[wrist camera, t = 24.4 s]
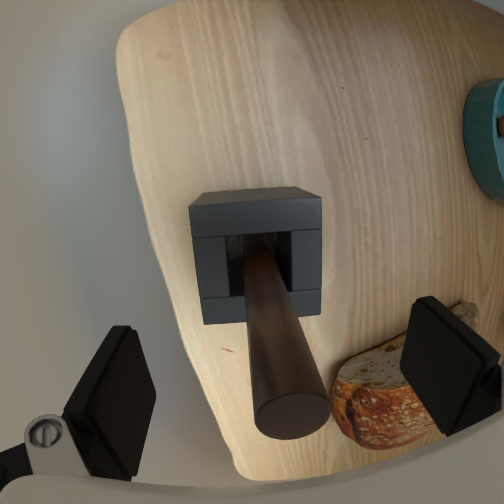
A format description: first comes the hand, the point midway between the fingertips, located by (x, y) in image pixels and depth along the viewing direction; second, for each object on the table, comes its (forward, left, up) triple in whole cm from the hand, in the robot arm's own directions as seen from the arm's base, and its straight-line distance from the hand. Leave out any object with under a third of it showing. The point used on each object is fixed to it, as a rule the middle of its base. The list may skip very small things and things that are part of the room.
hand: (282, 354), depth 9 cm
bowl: (-10, +31, -18) cm, 37 cm away
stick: (+1, 0, -18) cm, 18 cm away
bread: (+20, +18, -18) cm, 33 cm away
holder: (0, 0, -18) cm, 18 cm away
